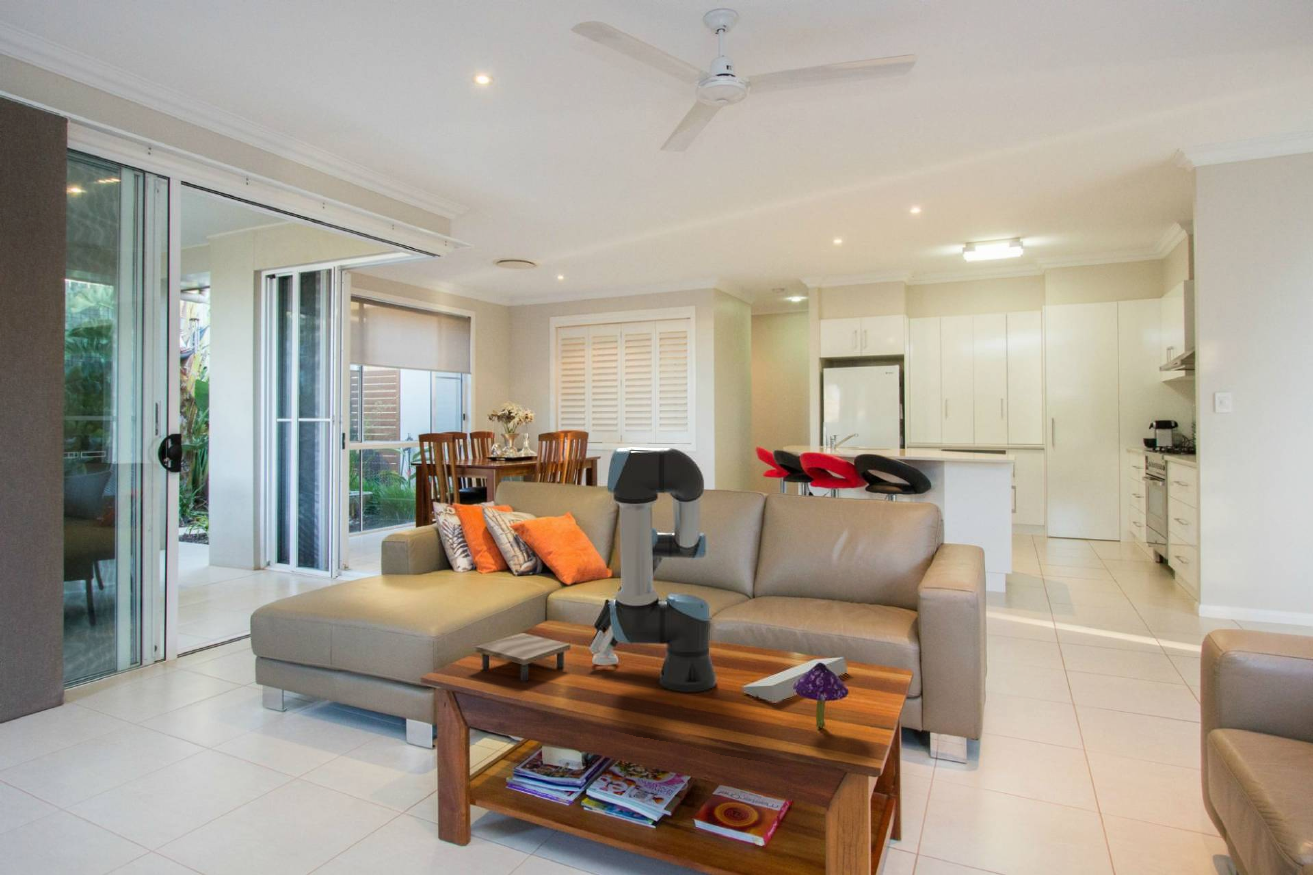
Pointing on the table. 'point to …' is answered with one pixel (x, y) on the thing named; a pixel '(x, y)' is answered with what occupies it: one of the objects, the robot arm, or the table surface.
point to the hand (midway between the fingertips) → (598, 653)
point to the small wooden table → (523, 651)
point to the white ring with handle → (598, 657)
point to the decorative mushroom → (820, 688)
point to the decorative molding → (790, 680)
